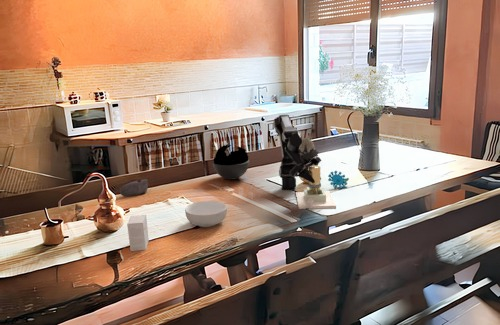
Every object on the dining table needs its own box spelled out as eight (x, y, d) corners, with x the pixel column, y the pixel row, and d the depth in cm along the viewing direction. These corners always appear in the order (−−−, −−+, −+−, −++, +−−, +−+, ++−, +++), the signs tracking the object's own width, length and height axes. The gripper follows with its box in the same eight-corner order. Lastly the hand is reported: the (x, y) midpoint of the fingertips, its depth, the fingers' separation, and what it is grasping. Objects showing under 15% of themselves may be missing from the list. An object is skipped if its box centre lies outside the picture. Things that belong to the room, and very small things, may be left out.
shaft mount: (298, 209, 186) (298, 200, 185) (295, 193, 208) (295, 185, 207) (336, 208, 186) (336, 199, 185) (329, 192, 208) (329, 184, 207)
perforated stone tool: (121, 198, 212) (119, 185, 210) (118, 196, 216) (117, 182, 215) (151, 193, 218) (149, 180, 217) (148, 190, 223) (147, 177, 221)
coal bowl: (208, 177, 243) (206, 144, 238) (241, 171, 250) (240, 140, 246) (220, 186, 225) (218, 150, 220) (256, 180, 232) (254, 146, 228)
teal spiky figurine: (331, 187, 209) (327, 169, 215) (326, 193, 214) (322, 175, 219) (352, 187, 212) (347, 170, 217) (347, 193, 217) (342, 176, 222)
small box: (133, 242, 161) (130, 215, 158) (149, 240, 161) (146, 214, 159) (130, 251, 153) (126, 223, 151) (146, 250, 154) (142, 222, 151)
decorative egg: (296, 159, 273) (295, 136, 269) (315, 159, 271) (314, 136, 268) (295, 164, 262) (295, 140, 258) (315, 164, 260) (315, 139, 256)
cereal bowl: (211, 234, 164) (209, 217, 163) (177, 227, 173) (176, 210, 171) (235, 219, 178) (235, 203, 177) (203, 213, 187) (202, 198, 185)
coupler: (309, 196, 194) (308, 168, 190) (307, 192, 199) (307, 165, 196) (321, 196, 193) (321, 168, 190) (320, 192, 199) (320, 165, 196)
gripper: (295, 147, 186) (317, 175, 182) (317, 139, 200) (338, 165, 196) (280, 162, 193) (301, 190, 189) (303, 154, 207) (323, 179, 203)
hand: (317, 181), depth 194 cm, fingers closed on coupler, 5 cm apart
